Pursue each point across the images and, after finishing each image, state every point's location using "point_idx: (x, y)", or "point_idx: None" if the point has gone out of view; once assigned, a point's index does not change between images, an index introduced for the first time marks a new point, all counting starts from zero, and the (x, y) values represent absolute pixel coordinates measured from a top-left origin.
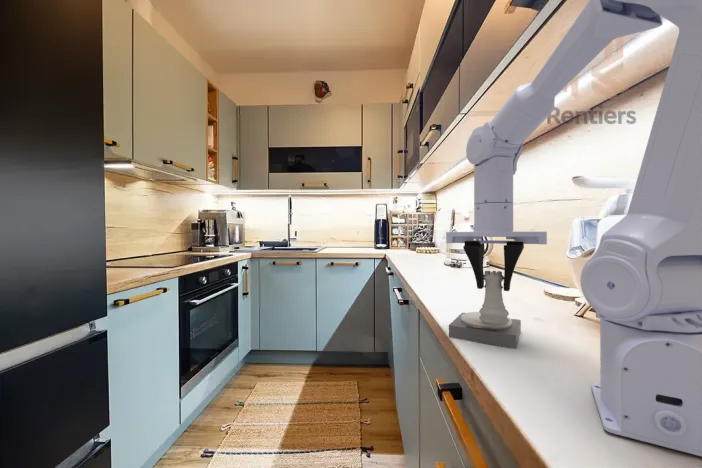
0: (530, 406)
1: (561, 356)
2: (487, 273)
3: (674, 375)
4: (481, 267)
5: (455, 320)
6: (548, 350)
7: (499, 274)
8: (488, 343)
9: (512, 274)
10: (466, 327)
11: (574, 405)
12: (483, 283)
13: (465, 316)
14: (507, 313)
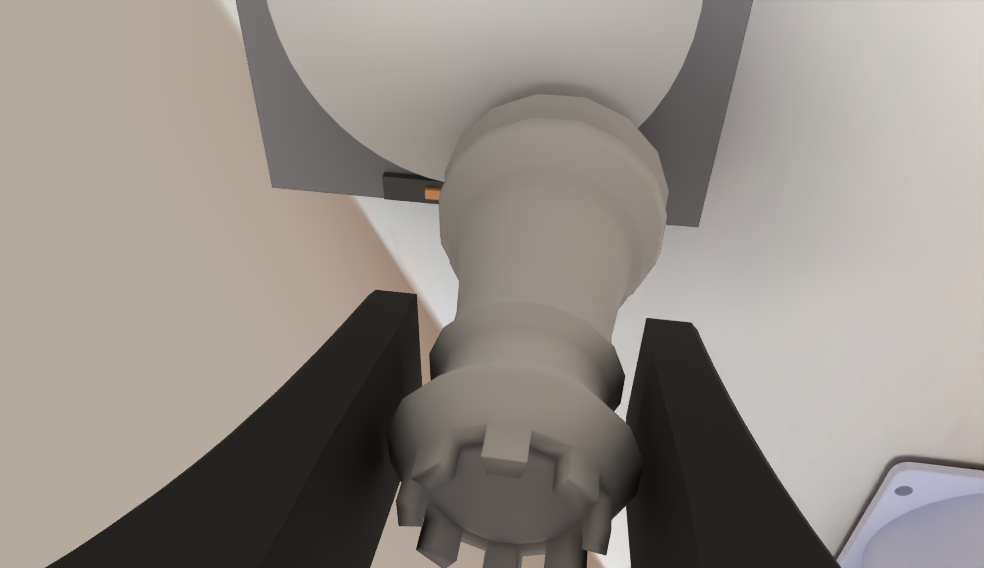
0: None
1: (931, 197)
2: (446, 546)
3: None
4: (339, 549)
5: (255, 41)
6: (891, 126)
7: (581, 549)
8: None
9: (757, 451)
10: (387, 196)
11: None
12: (407, 342)
13: (312, 34)
14: (653, 265)
